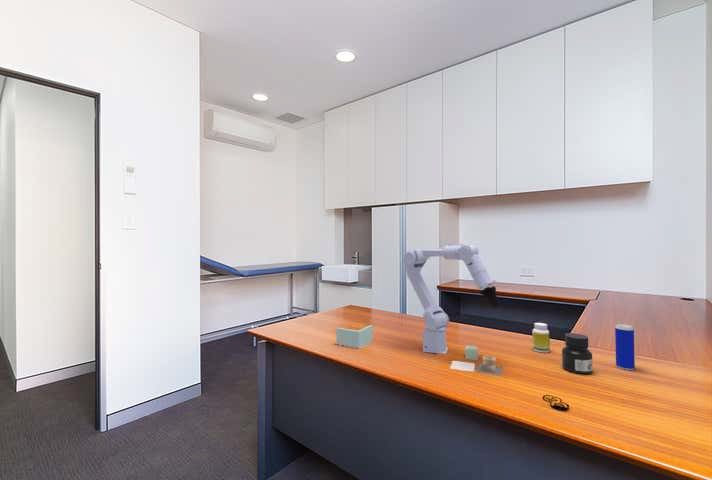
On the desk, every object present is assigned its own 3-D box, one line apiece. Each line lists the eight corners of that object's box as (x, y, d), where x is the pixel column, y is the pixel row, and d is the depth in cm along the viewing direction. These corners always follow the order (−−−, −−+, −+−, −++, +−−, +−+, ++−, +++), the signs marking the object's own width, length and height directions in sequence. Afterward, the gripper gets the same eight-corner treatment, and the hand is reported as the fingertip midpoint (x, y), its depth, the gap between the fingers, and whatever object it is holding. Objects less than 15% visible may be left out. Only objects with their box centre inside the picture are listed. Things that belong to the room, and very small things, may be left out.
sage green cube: (465, 360, 125) (465, 348, 125) (466, 356, 129) (466, 345, 129) (477, 361, 123) (477, 350, 123) (478, 357, 127) (478, 346, 127)
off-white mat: (450, 369, 116) (450, 368, 116) (452, 362, 123) (452, 360, 123) (473, 373, 113) (473, 371, 113) (475, 364, 120) (474, 363, 120)
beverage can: (630, 365, 117) (629, 324, 117) (637, 371, 112) (636, 328, 112) (613, 364, 118) (612, 323, 118) (619, 369, 113) (618, 327, 113)
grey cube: (483, 370, 113) (482, 359, 113) (483, 366, 117) (483, 355, 117) (495, 372, 112) (495, 360, 112) (495, 368, 115) (495, 356, 115)
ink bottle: (582, 377, 108) (582, 341, 108) (556, 368, 116) (555, 334, 116) (598, 371, 112) (597, 336, 112) (571, 363, 120) (571, 330, 120)
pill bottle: (552, 353, 130) (551, 326, 130) (535, 352, 132) (535, 325, 132) (546, 348, 136) (546, 322, 137) (530, 347, 138) (530, 321, 138)
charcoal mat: (476, 373, 112) (476, 372, 112) (477, 365, 120) (477, 363, 120) (501, 377, 109) (501, 375, 109) (501, 368, 116) (501, 366, 116)
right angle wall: (372, 341, 150) (372, 325, 150) (358, 349, 140) (358, 331, 140) (351, 337, 156) (350, 322, 157) (336, 344, 146) (336, 328, 146)
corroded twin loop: (556, 412, 87) (556, 408, 87) (538, 398, 95) (538, 394, 95) (574, 412, 87) (574, 408, 87) (554, 397, 95) (554, 394, 95)
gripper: (488, 266, 115) (507, 302, 110) (490, 271, 128) (507, 303, 123) (469, 275, 117) (487, 310, 112) (473, 278, 130) (490, 310, 125)
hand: (497, 307), depth 117 cm, fingers open, 7 cm apart
